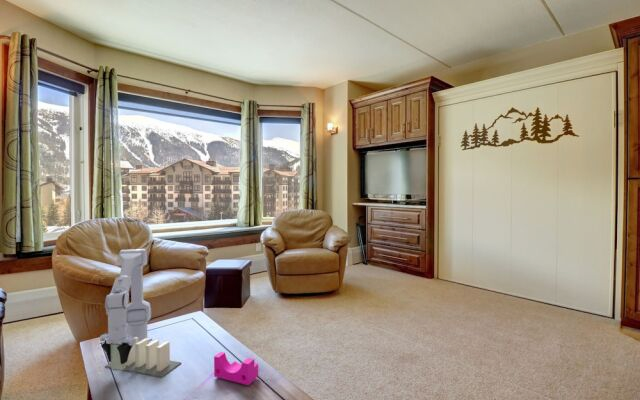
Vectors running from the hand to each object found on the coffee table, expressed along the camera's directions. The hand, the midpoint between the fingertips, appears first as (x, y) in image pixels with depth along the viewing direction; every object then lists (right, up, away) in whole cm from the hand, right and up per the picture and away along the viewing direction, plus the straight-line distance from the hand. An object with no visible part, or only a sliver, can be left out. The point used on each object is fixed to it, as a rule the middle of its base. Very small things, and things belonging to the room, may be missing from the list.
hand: (118, 361), depth 117 cm
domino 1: (-1, -5, +9) cm, 11 cm away
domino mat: (+5, -6, +8) cm, 11 cm away
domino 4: (+14, -5, +5) cm, 16 cm away
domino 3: (+9, -5, +7) cm, 12 cm away
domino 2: (+4, -5, +8) cm, 10 cm away
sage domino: (0, -3, 0) cm, 2 cm away
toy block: (+43, -6, +1) cm, 44 cm away
